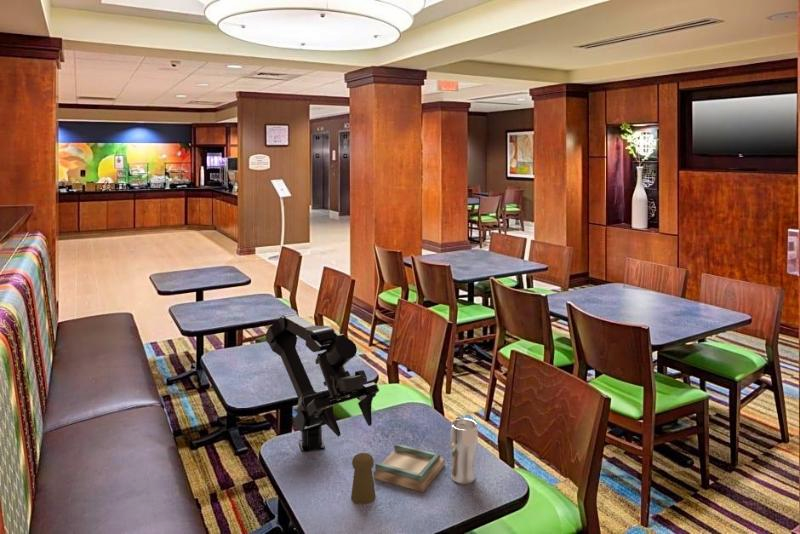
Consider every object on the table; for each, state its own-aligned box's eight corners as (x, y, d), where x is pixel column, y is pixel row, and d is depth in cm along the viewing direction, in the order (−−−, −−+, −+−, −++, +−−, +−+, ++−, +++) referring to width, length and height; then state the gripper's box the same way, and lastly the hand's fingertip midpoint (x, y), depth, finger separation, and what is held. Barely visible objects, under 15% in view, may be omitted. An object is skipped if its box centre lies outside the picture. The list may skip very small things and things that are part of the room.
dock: (373, 478, 153) (373, 465, 153) (397, 453, 166) (397, 441, 165) (423, 492, 147) (423, 479, 147) (444, 465, 160) (444, 453, 159)
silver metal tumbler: (461, 467, 159) (462, 415, 156) (482, 477, 154) (483, 424, 151) (443, 477, 154) (444, 424, 151) (464, 488, 149) (466, 433, 146)
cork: (372, 505, 142) (372, 463, 140) (347, 502, 143) (347, 460, 141) (378, 491, 148) (378, 450, 145) (354, 488, 149) (354, 448, 147)
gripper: (313, 370, 143) (335, 432, 138) (377, 354, 154) (400, 411, 149) (297, 385, 151) (318, 444, 146) (359, 369, 162) (380, 423, 157)
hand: (355, 430), depth 149 cm, fingers open, 9 cm apart
